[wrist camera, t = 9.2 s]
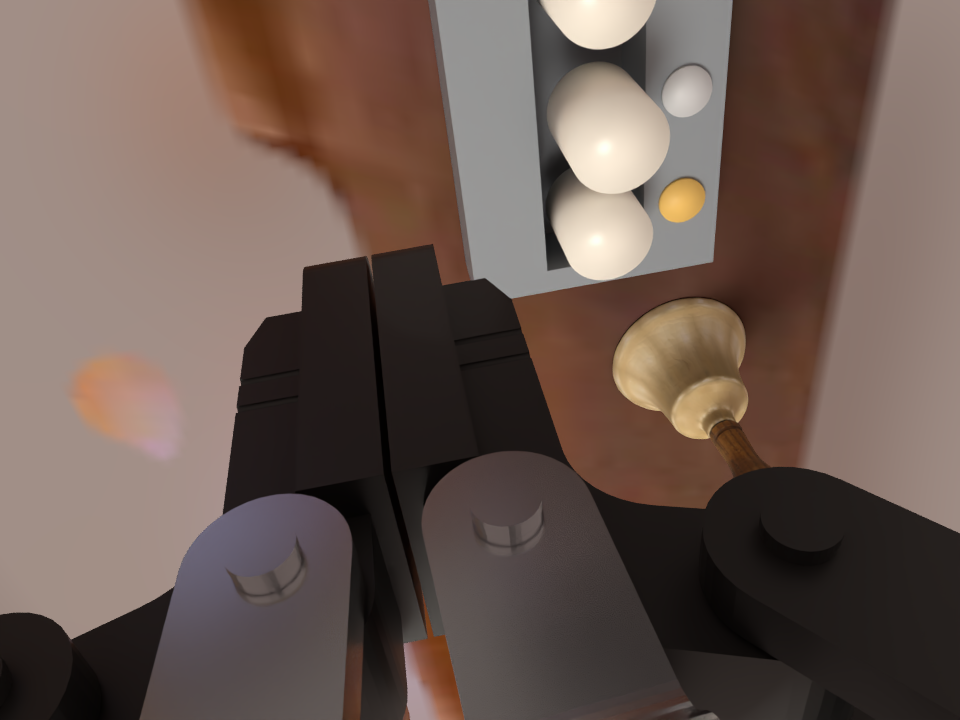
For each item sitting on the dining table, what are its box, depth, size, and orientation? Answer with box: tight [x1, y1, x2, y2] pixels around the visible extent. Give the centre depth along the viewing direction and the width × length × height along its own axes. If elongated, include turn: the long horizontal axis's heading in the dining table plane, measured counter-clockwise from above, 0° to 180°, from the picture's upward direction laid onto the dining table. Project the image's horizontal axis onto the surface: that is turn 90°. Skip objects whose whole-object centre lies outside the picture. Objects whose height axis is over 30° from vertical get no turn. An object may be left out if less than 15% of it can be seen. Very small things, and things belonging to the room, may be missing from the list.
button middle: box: [547, 62, 670, 194], centre depth 33 cm, size 4×4×4 cm
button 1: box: [546, 168, 653, 280], centre depth 38 cm, size 4×4×4 cm
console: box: [428, 0, 733, 298], centre depth 36 cm, size 18×12×4 cm, turn 7°
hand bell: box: [613, 298, 771, 478], centre depth 43 cm, size 8×8×16 cm
